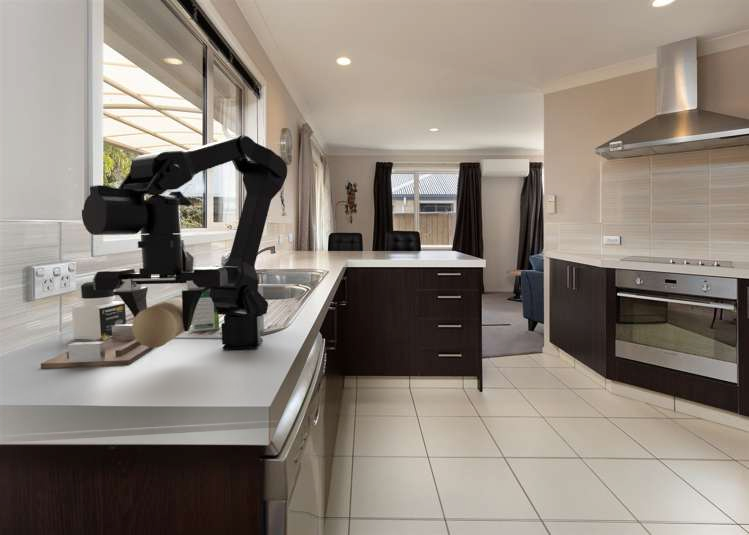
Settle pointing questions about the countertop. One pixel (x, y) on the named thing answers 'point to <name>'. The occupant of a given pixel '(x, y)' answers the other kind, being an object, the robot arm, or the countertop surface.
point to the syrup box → (205, 312)
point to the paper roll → (159, 323)
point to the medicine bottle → (97, 313)
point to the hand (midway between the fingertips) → (166, 331)
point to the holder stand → (102, 351)
